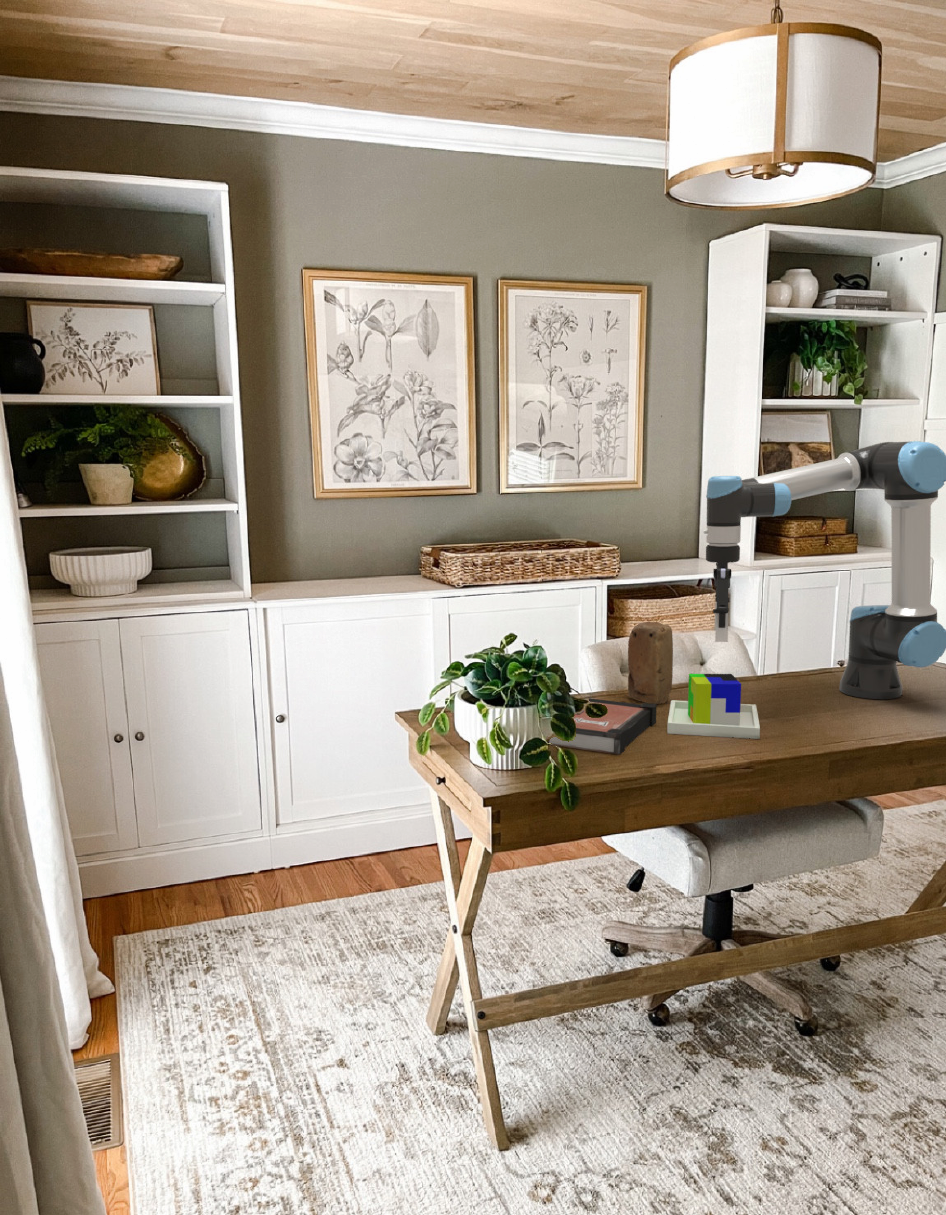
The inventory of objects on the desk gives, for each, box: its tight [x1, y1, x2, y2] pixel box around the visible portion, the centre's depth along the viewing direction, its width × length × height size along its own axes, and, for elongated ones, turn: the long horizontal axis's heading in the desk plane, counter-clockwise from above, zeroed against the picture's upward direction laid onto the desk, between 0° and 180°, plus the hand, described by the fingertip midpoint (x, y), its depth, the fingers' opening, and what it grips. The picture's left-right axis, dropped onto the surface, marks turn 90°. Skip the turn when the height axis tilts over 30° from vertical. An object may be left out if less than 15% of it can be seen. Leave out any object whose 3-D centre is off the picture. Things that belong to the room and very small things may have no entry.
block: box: [627, 621, 674, 705], centre depth 241 cm, size 11×8×20 cm
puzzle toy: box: [687, 673, 742, 726], centre depth 221 cm, size 10×10×10 cm
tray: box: [666, 699, 761, 740], centre depth 221 cm, size 20×20×2 cm
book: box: [548, 697, 658, 756], centre depth 215 cm, size 26×18×5 cm
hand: (720, 635), depth 220 cm, fingers open, 13 cm apart
